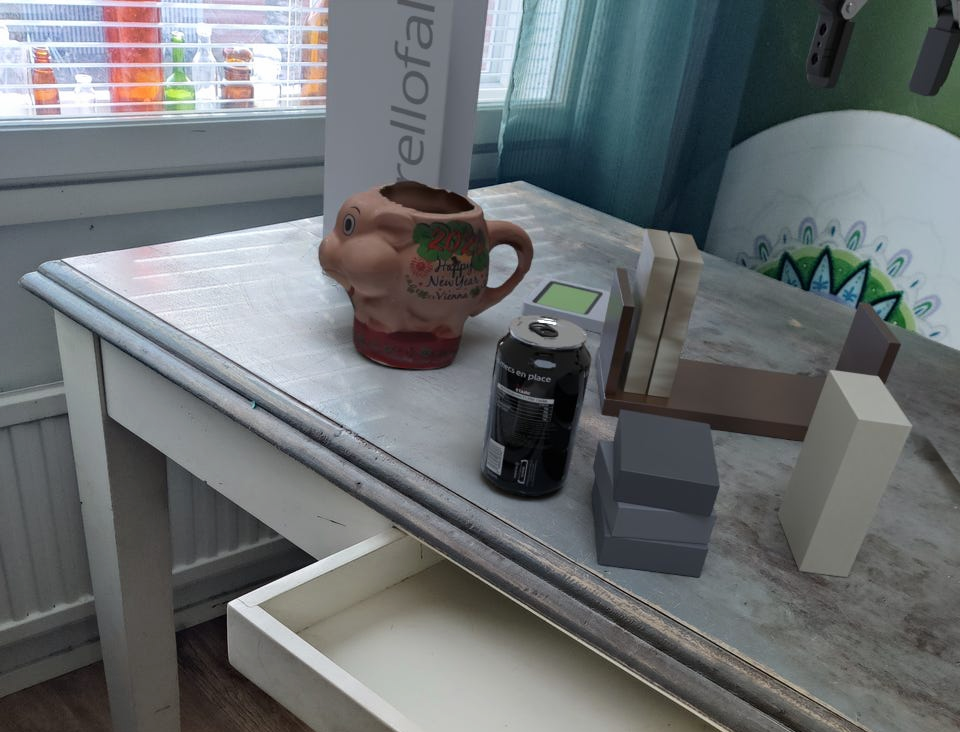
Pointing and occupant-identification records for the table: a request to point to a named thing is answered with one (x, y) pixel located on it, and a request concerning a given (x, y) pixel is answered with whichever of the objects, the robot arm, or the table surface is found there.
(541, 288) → the handheld gaming console
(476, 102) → the white lettered box
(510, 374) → the beverage can
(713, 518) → the stacked grey blocks
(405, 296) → the pig-shaped ceramic mug
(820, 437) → the tall beige pillar
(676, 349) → the book rack
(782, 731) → the table surface
